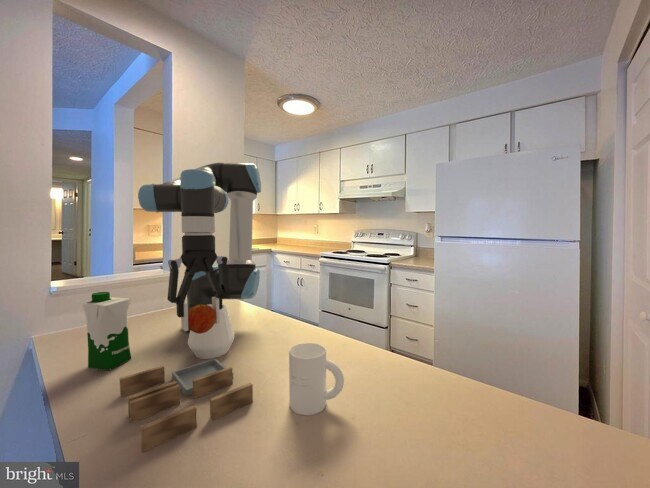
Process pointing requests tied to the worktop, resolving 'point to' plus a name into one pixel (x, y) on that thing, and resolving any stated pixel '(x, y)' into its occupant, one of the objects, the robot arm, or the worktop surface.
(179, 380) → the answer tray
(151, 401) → the stall
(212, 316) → the fruit
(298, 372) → the mug
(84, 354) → the worktop surface
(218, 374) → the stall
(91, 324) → the milk carton
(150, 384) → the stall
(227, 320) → the cup
